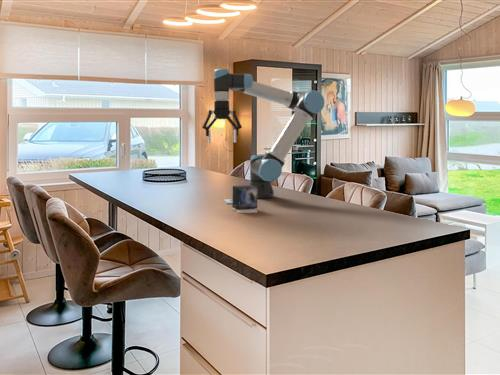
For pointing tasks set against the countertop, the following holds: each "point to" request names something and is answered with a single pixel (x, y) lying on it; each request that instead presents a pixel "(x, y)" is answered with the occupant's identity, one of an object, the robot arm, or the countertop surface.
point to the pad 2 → (245, 210)
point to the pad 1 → (228, 201)
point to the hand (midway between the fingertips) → (222, 142)
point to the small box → (245, 197)
